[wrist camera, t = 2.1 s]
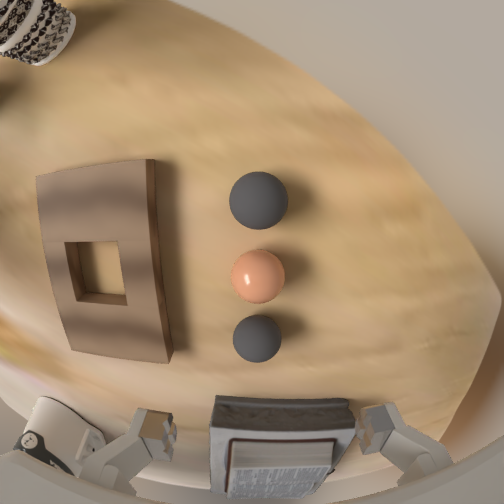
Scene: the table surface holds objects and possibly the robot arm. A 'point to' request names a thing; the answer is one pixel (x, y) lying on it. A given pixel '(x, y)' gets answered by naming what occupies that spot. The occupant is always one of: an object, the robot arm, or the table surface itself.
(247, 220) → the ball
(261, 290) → the terracotta ball
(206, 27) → the table surface
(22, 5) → the black white tall cylinder
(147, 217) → the walnut board
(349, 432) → the bible
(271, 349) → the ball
